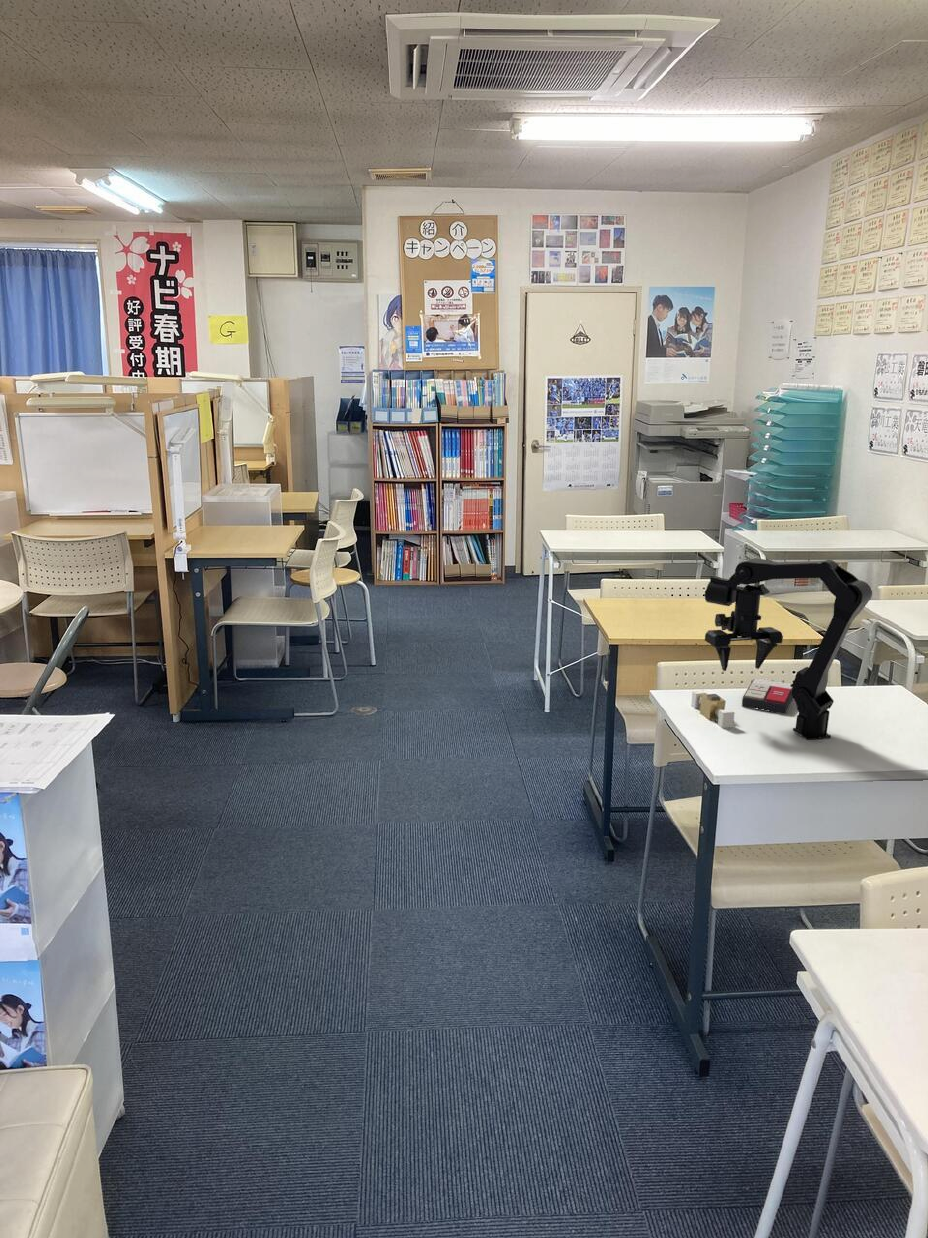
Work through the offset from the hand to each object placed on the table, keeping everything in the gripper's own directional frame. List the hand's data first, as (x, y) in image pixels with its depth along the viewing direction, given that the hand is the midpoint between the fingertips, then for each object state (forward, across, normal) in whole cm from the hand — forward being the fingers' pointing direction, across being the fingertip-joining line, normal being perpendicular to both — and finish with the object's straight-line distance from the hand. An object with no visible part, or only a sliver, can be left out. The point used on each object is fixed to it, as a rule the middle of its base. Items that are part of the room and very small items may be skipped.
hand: (740, 669), depth 232 cm
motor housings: (+12, +7, 0) cm, 14 cm away
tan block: (+12, +7, 0) cm, 14 cm away
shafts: (+12, +7, 0) cm, 14 cm away
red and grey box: (+13, -13, -7) cm, 20 cm away
